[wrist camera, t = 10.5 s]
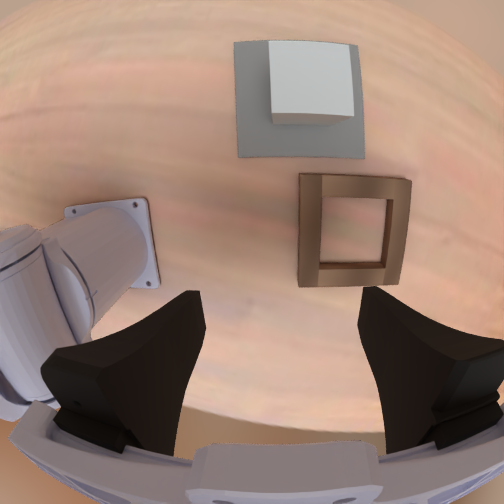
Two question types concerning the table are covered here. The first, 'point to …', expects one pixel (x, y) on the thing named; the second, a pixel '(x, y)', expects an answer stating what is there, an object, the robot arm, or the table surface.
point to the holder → (310, 229)
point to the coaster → (289, 135)
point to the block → (310, 83)
